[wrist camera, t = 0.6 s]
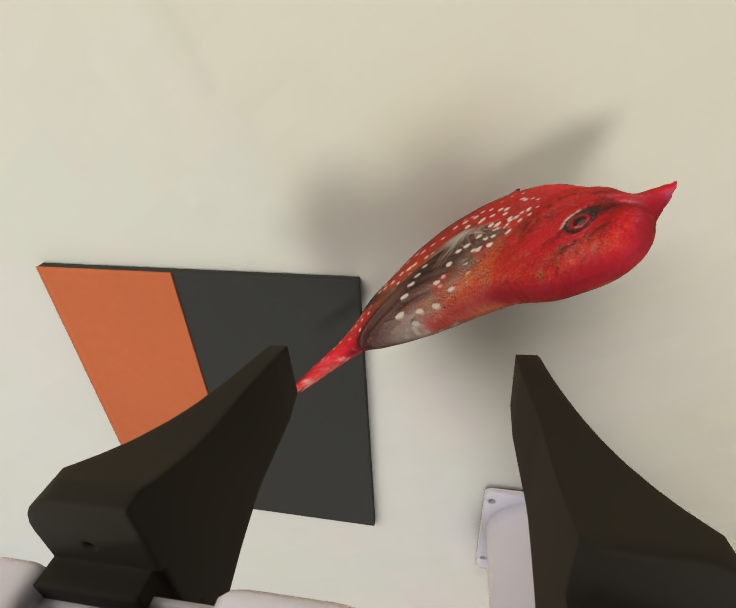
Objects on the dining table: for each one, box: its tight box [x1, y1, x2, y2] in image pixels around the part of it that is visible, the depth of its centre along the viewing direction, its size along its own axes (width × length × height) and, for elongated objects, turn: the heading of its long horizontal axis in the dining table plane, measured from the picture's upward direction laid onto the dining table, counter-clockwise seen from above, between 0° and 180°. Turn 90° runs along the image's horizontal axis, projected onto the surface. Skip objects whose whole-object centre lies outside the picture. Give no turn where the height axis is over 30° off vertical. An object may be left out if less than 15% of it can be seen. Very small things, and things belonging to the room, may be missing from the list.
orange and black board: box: [36, 263, 375, 526], centre depth 32 cm, size 20×22×1 cm
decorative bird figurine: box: [296, 181, 677, 394], centre depth 19 cm, size 3×18×10 cm, turn 132°
